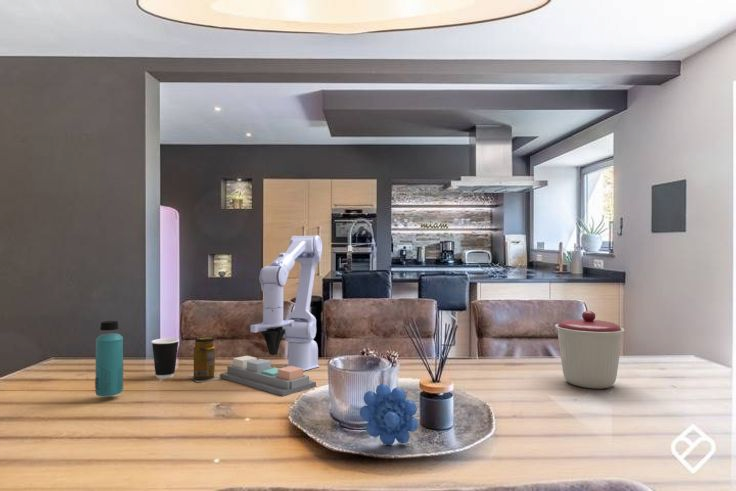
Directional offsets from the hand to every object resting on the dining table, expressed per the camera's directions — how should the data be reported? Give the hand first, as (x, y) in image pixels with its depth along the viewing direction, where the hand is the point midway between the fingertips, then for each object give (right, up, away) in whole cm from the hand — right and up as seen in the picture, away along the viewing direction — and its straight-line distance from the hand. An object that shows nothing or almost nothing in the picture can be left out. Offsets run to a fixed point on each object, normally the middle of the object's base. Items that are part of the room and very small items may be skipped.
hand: (273, 354), depth 134 cm
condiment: (-22, -9, +6) cm, 24 cm away
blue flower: (+32, -8, -44) cm, 55 cm away
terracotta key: (+6, -5, -5) cm, 9 cm away
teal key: (0, -7, -1) cm, 7 cm away
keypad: (-2, -8, +2) cm, 9 cm away
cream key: (-10, -6, +8) cm, 14 cm away
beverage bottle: (-39, -8, -14) cm, 43 cm away
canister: (+91, -9, 0) cm, 92 cm away
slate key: (-5, -5, +4) cm, 8 cm away
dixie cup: (-34, -9, +7) cm, 36 cm away
